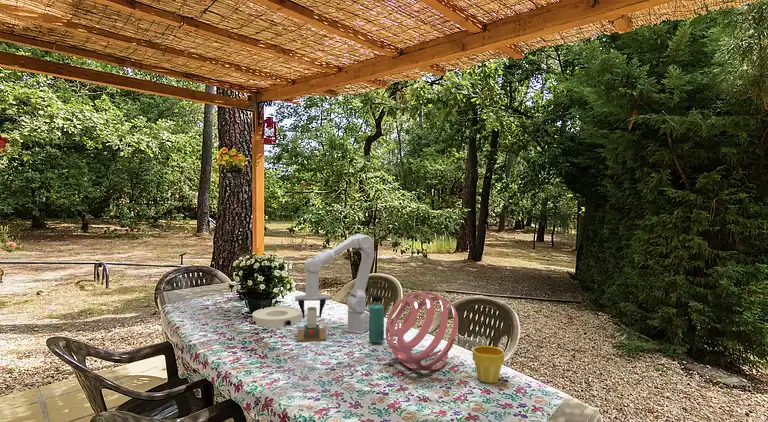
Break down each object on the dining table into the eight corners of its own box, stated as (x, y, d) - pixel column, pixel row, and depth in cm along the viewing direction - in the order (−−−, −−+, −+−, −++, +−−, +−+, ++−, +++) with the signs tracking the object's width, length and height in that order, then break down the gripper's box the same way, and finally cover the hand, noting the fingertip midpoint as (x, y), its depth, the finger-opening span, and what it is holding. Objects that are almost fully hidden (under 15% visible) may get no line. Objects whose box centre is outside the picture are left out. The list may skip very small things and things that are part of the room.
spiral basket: (452, 299, 171) (407, 266, 159) (492, 337, 146) (441, 301, 134) (410, 353, 171) (361, 324, 159) (442, 399, 146) (387, 369, 134)
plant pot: (480, 370, 149) (481, 343, 148) (508, 378, 142) (509, 350, 142) (466, 379, 141) (467, 350, 140) (495, 388, 134) (496, 358, 134)
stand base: (298, 331, 188) (298, 322, 188) (325, 330, 190) (325, 321, 190) (297, 342, 175) (297, 332, 175) (326, 340, 177) (326, 331, 177)
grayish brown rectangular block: (307, 325, 184) (307, 306, 184) (316, 324, 185) (316, 306, 185) (306, 328, 180) (307, 309, 180) (316, 327, 181) (316, 309, 181)
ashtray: (306, 315, 216) (306, 307, 216) (292, 329, 193) (292, 320, 193) (263, 313, 218) (263, 305, 218) (244, 326, 195) (244, 318, 195)
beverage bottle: (382, 346, 171) (383, 298, 170) (366, 345, 172) (367, 297, 172) (385, 341, 177) (386, 294, 177) (370, 339, 179) (370, 293, 178)
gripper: (328, 283, 187) (328, 313, 188) (295, 284, 185) (295, 315, 185) (329, 287, 180) (328, 318, 181) (294, 288, 178) (294, 319, 178)
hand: (311, 317), depth 182 cm, fingers open, 6 cm apart
